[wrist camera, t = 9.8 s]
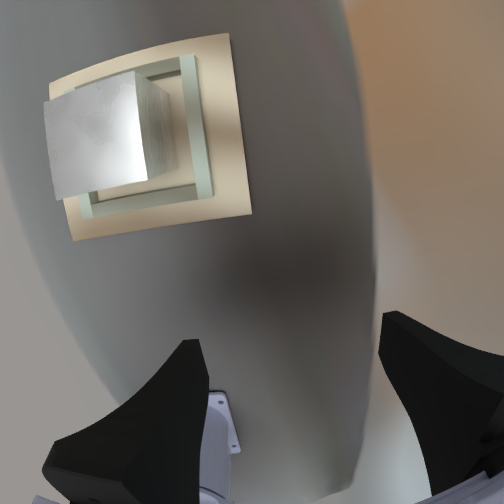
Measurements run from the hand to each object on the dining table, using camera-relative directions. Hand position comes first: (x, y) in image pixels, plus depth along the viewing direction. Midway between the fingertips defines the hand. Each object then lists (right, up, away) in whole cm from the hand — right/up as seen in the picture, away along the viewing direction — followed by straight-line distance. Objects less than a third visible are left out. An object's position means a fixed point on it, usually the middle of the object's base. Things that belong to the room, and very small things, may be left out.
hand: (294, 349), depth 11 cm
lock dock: (-8, +11, +6) cm, 15 cm away
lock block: (-8, +10, +5) cm, 14 cm away
